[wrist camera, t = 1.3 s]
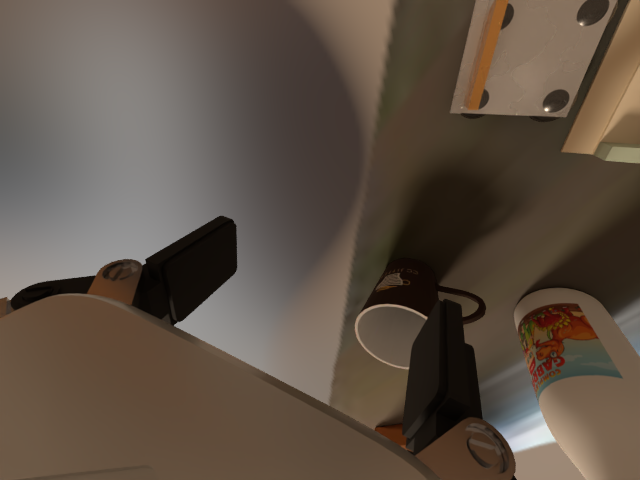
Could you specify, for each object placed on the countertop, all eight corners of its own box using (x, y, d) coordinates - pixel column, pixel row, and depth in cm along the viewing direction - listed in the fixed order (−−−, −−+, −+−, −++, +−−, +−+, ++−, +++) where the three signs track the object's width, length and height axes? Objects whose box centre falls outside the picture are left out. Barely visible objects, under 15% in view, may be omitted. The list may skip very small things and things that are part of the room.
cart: (614, -11, 17) (689, -55, 12) (558, 120, 22) (595, 132, 16) (474, 1, 20) (484, -30, 15) (448, 116, 24) (448, 124, 19)
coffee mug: (375, 298, 38) (356, 355, 30) (375, 246, 34) (353, 296, 26) (467, 316, 33) (473, 389, 25) (480, 258, 29) (492, 323, 21)
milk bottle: (607, 283, 26) (869, 608, 10) (602, 342, 28) (799, 670, 12) (510, 286, 29) (584, 523, 13) (514, 337, 32) (579, 585, 16)
